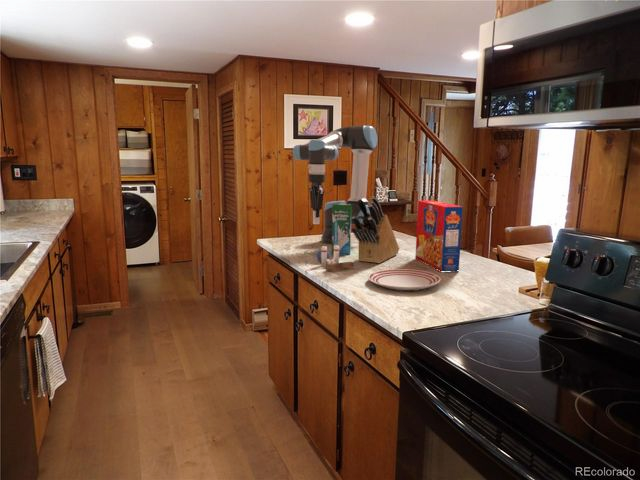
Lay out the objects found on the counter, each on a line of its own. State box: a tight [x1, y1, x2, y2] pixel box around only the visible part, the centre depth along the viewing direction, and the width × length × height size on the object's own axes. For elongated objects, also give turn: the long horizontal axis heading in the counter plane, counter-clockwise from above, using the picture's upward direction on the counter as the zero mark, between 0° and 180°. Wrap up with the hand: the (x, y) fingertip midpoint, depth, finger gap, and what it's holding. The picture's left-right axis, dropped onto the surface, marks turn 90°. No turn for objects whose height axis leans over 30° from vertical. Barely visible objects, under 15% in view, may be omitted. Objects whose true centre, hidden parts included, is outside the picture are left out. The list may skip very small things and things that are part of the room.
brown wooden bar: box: [325, 261, 355, 273], centre depth 201 cm, size 12×2×3 cm, turn 114°
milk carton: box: [331, 203, 352, 256], centre depth 236 cm, size 9×9×25 cm
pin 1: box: [320, 245, 328, 267], centre depth 208 cm, size 2×2×8 cm
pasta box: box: [415, 200, 464, 271], centre depth 210 cm, size 28×8×28 cm, turn 11°
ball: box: [316, 248, 331, 262], centre depth 216 cm, size 6×6×6 cm
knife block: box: [351, 196, 400, 264], centre depth 220 cm, size 11×35×31 cm, turn 151°
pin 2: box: [333, 246, 340, 263], centre depth 211 cm, size 2×2×8 cm
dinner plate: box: [367, 268, 442, 291], centre depth 180 cm, size 28×27×3 cm
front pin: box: [327, 258, 335, 264], centre depth 208 cm, size 2×2×8 cm
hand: (316, 224), depth 222 cm, fingers closed
